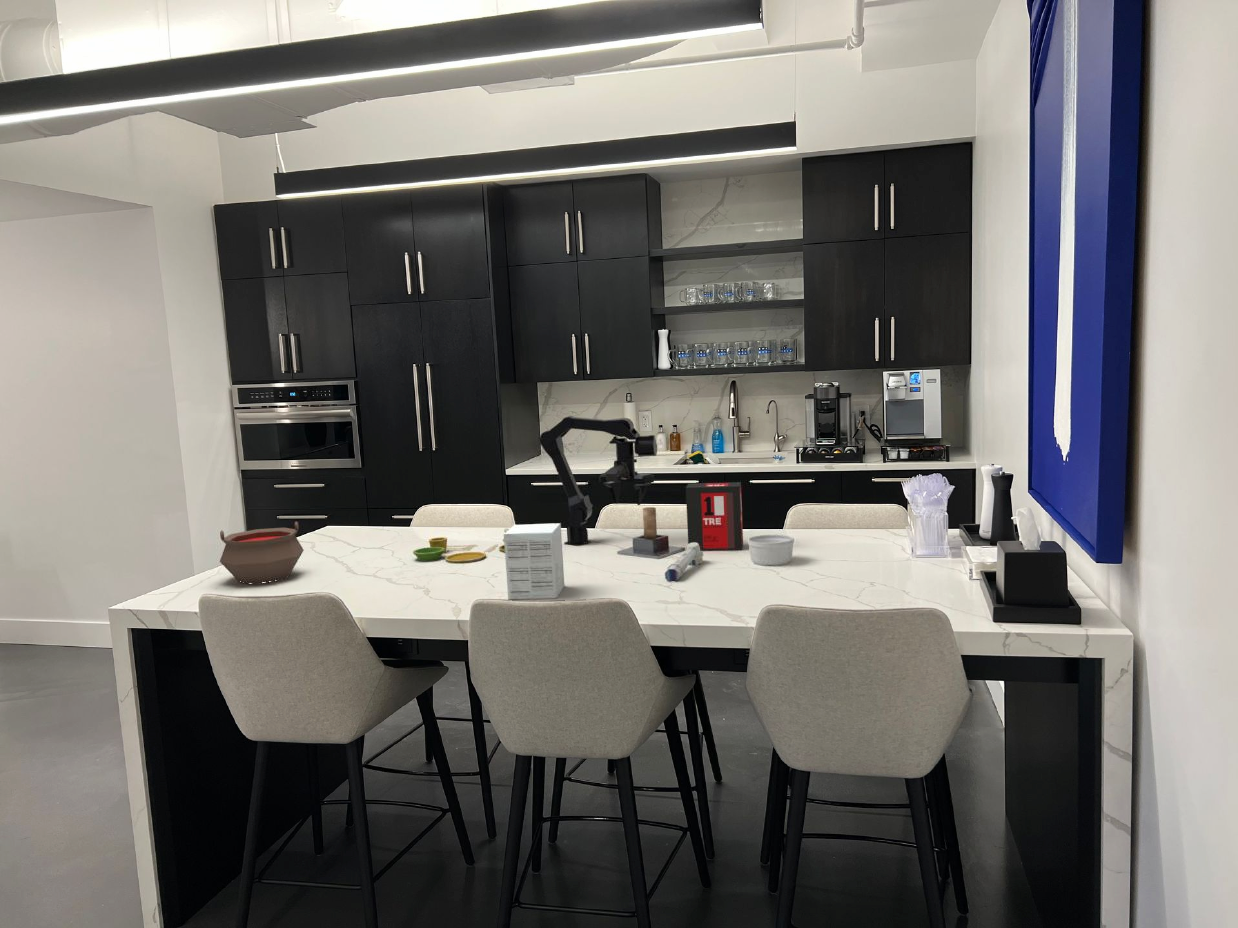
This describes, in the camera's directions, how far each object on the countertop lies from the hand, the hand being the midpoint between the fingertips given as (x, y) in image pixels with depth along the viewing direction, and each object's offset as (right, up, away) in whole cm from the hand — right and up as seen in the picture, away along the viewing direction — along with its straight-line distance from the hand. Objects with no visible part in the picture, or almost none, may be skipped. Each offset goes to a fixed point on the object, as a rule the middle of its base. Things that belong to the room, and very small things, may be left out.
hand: (627, 504), depth 302 cm
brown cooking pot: (-110, -22, -23) cm, 115 cm away
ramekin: (+41, -15, -36) cm, 57 cm away
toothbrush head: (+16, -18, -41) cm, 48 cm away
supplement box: (-25, -21, -57) cm, 66 cm away
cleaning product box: (+28, -13, -13) cm, 33 cm away
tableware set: (-47, -17, -3) cm, 50 cm away
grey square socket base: (+7, -14, -14) cm, 21 cm away
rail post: (+7, -14, -14) cm, 21 cm away
